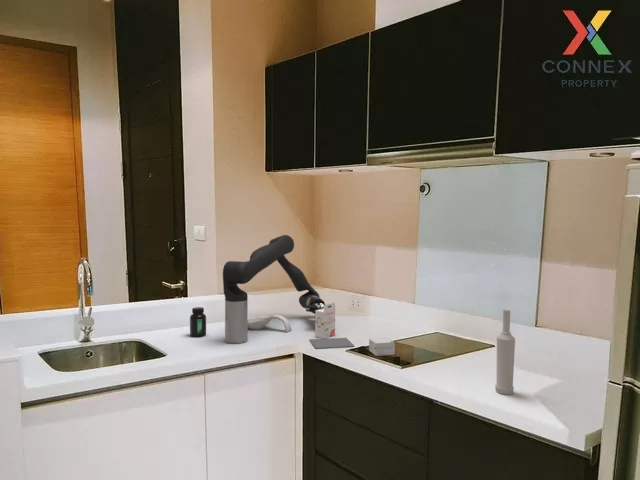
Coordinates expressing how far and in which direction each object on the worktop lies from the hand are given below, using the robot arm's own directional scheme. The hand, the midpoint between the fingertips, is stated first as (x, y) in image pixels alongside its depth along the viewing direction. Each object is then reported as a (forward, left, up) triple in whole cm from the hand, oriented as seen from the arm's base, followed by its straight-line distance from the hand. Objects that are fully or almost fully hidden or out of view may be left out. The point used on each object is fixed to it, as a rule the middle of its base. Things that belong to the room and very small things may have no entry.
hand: (323, 311), depth 215 cm
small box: (+16, -32, -10) cm, 37 cm away
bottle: (+39, -79, -10) cm, 88 cm away
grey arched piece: (-24, +14, -11) cm, 29 cm away
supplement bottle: (-54, +8, -10) cm, 55 cm away
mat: (0, -16, -10) cm, 19 cm away
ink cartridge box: (0, -4, -10) cm, 11 cm away
